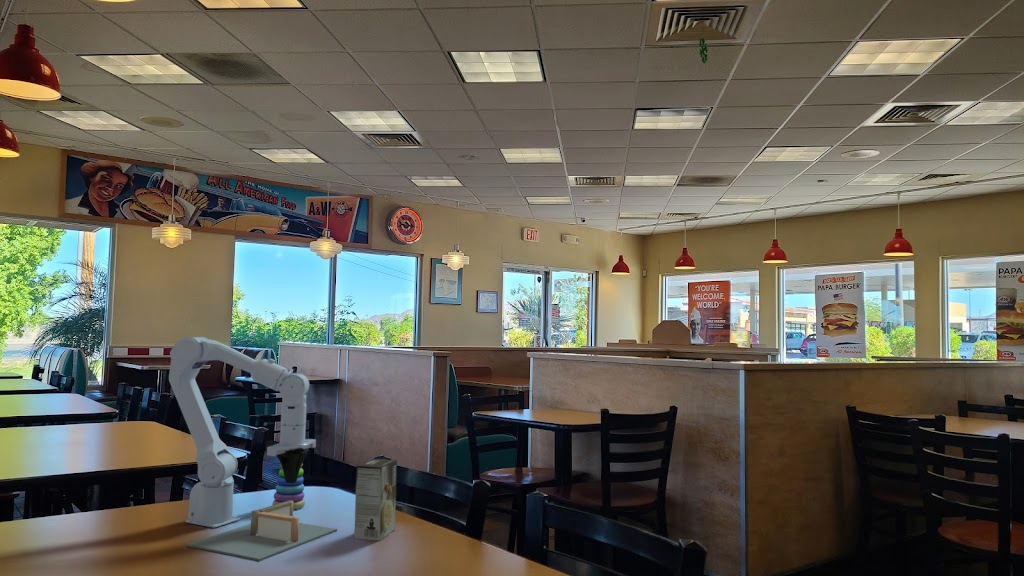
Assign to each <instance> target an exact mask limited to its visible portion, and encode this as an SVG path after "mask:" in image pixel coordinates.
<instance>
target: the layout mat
mask: <svg viewBox="0 0 1024 576" xmlns="http://www.w3.org/2000/svg"><path fill="white" fill-rule="evenodd" d="M250 531H251V523H248V524H245V525H243V526H240V527H236V528H232V529H229V530H226V531H223V532H220V533H217V534H214V535H211V536H210V535H209V536H207V537H205V538H202V539H198V540H195V541H193V542H189V543H186V547H190V548H194V549H199V550H204V551H209V552H213V553H218V554H223V555H228V556H233V557H237V558H242V559H243V558H244V559H249V560H253V561H256V562H257V561H258V562H261V561H263V560H265V559H268V558H271V557H274V556H276V555H278V554H282V553H284V552H286V551H289V550H292V549H295V548H298V547H300V546H301V545H305V544H306V543H309V542H311V541H312V542H313V541H316V540H317V539H320V538H322V537H325V536H328V535H331V534H333V533H336V532H337V531H338V529H337V528H333V527H328V526H327V527H326V526H321V525H314V524H311V523H310V524H309V523H305V522H304V523H303V522H299V534H298V540H297V541H291V540H285V539H279V538H273V537H267V536H261V535H255V536H252V535H250Z"/></svg>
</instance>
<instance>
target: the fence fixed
mask: <svg viewBox="0 0 1024 576" xmlns="http://www.w3.org/2000/svg"><path fill="white" fill-rule="evenodd" d="M260 512H269V513H275V514H282V515H289V516H294V510H293V501H286V502H282V503H279V504H276V505H270V506H265V507H263V508H258V509H257V510H256V509H255V510H254V509H253V510H251V514H250V524H251V531H250V535H252V536H255V535H257V534H258V513H260Z"/></svg>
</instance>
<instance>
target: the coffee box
mask: <svg viewBox="0 0 1024 576" xmlns="http://www.w3.org/2000/svg"><path fill="white" fill-rule="evenodd" d="M397 466H398V460H397V459H383V458H382V459H381V458H370V459H369V460H366V461H365V462H362V463H360V464H358V465H356V474H355V507H354V533H353V534H354V539H358V540H366V541H367V540H369V541H378V542H380V541H381V540H382V541H383V539H385V538H386V537H387V536H388V535H390V534H391V533H392V532H394V531H395V530H396V515H397V513H396V507H397V503H396V502H397V501H396V500H397V475H398V474H397V473H398V472H397V471H398V470H397V468H398V467H397Z"/></svg>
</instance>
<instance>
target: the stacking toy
mask: <svg viewBox="0 0 1024 576" xmlns="http://www.w3.org/2000/svg"><path fill="white" fill-rule="evenodd" d="M303 465H304V464H303V463H302V465H301V467H300V470H299V473H298V477H297V480H296V482H295V483H287V482H286V481H285V476H284V472H283V468H282V465H281V463H280V467H281V468H280V469H279V472H278V474H279V476H278V477H277V480H276V481H277V485H276V486H275V492H274V494H273V499H274V500H273V501H272V505H276V504H279V503H282V502H286V501H293V511H295V509H296V510H300V509H302V508H303V507H305V504H306V502H305V500H304V498H305V493H304V489H305V485H304V484H303V483H304V481H305V480H304V477H303V475H304V469H303V468H302V467H303ZM272 505H271V506H272Z"/></svg>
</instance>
